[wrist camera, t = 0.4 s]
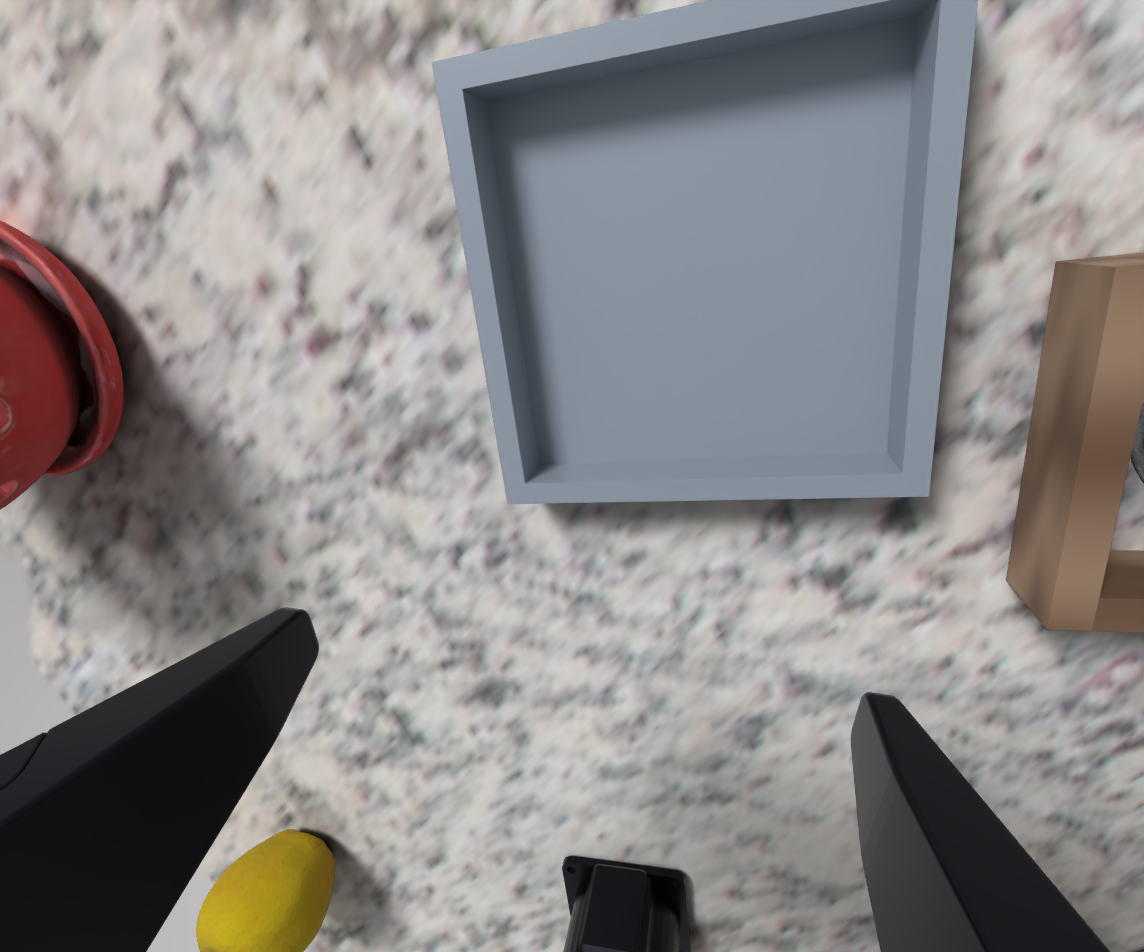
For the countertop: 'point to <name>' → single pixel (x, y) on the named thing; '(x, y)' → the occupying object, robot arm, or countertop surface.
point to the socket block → (1083, 452)
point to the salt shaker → (1139, 446)
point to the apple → (269, 897)
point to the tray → (714, 247)
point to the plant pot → (51, 369)
